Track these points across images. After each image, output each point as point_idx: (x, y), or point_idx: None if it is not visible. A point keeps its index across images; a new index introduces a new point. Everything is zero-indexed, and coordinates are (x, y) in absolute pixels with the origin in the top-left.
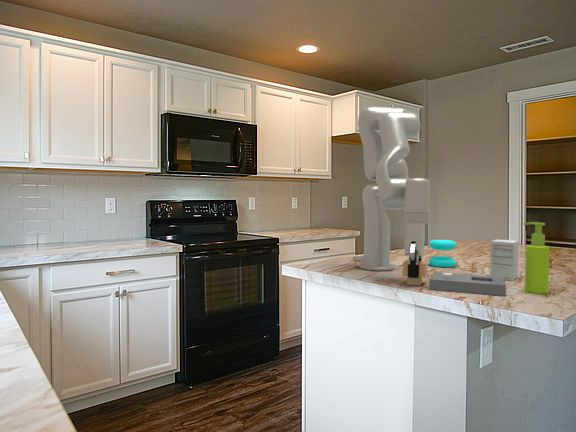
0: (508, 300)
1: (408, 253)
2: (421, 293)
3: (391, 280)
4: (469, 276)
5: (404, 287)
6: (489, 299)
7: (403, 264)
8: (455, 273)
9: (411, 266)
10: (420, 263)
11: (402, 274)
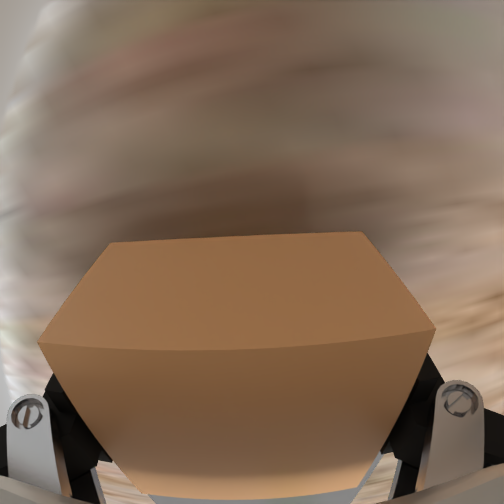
0: (137, 499)
1: (392, 499)
2: (7, 343)
3: (303, 71)
4: (304, 501)
5: (58, 248)
6: (111, 481)
7: (53, 334)
8: (372, 470)
9: (48, 402)
10: (156, 480)
11: (107, 249)
